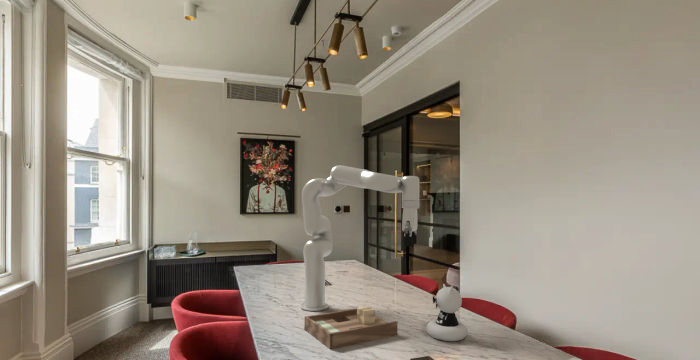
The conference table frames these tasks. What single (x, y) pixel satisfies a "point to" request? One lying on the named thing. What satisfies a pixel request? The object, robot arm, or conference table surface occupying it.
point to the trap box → (346, 328)
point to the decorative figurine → (447, 316)
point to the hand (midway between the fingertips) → (410, 244)
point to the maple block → (366, 315)
